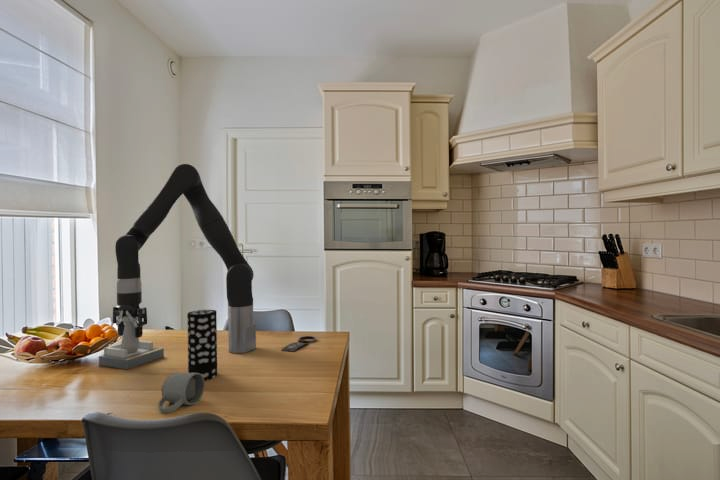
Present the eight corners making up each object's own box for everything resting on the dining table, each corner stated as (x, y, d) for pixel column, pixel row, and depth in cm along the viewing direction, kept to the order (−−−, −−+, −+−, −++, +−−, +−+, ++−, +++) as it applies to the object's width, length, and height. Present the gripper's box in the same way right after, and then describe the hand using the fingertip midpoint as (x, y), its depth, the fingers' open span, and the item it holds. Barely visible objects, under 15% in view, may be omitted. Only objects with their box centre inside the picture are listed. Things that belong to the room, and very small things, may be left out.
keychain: (278, 351, 142) (278, 346, 142) (303, 338, 160) (303, 334, 160) (295, 353, 139) (295, 348, 139) (319, 340, 157) (319, 335, 157)
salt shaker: (143, 349, 135) (143, 313, 135) (132, 354, 129) (132, 316, 129) (128, 349, 135) (128, 313, 135) (116, 354, 130) (116, 316, 130)
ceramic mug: (179, 394, 102) (179, 366, 102) (205, 397, 100) (204, 368, 100) (149, 413, 91) (148, 382, 91) (177, 416, 89) (176, 384, 89)
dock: (163, 356, 136) (163, 341, 136) (127, 369, 123) (127, 352, 123) (136, 353, 141) (136, 338, 141) (99, 364, 128) (98, 349, 128)
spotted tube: (223, 373, 118) (222, 310, 118) (204, 382, 110) (203, 315, 110) (202, 370, 121) (201, 309, 121) (182, 379, 113) (181, 314, 113)
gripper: (153, 290, 133) (153, 335, 133) (125, 288, 138) (125, 332, 138) (133, 293, 126) (134, 340, 126) (105, 291, 131) (105, 337, 131)
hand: (130, 336), depth 132 cm, fingers open, 8 cm apart
